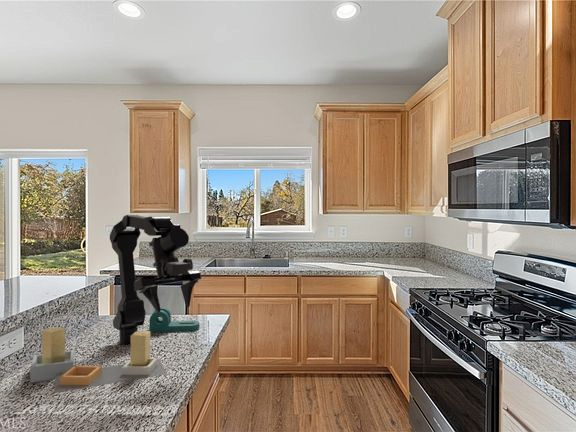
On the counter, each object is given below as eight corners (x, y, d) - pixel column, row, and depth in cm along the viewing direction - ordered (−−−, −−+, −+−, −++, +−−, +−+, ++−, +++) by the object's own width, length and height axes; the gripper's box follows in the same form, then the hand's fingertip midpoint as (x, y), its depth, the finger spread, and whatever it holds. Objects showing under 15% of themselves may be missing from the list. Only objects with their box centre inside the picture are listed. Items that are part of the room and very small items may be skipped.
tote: (34, 369, 115) (34, 355, 115) (74, 363, 119) (74, 350, 119) (30, 382, 106) (30, 367, 106) (73, 376, 110) (73, 361, 110)
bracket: (149, 332, 150) (149, 311, 150) (152, 327, 157) (152, 307, 157) (198, 331, 153) (198, 310, 153) (200, 326, 160) (200, 306, 160)
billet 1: (55, 361, 115) (55, 326, 115) (64, 364, 113) (65, 328, 113) (41, 366, 112) (42, 330, 111) (51, 369, 110) (51, 332, 110)
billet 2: (135, 366, 113) (136, 331, 113) (150, 366, 114) (150, 331, 113) (130, 372, 109) (130, 335, 109) (145, 372, 110) (145, 335, 109)
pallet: (56, 380, 108) (56, 367, 108) (159, 363, 120) (159, 352, 120) (53, 399, 97) (53, 384, 97) (166, 379, 109) (166, 366, 109)
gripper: (146, 251, 107) (156, 310, 103) (206, 247, 120) (216, 299, 117) (129, 262, 114) (137, 317, 111) (187, 257, 128) (196, 306, 124)
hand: (174, 309), depth 115 cm, fingers open, 9 cm apart
